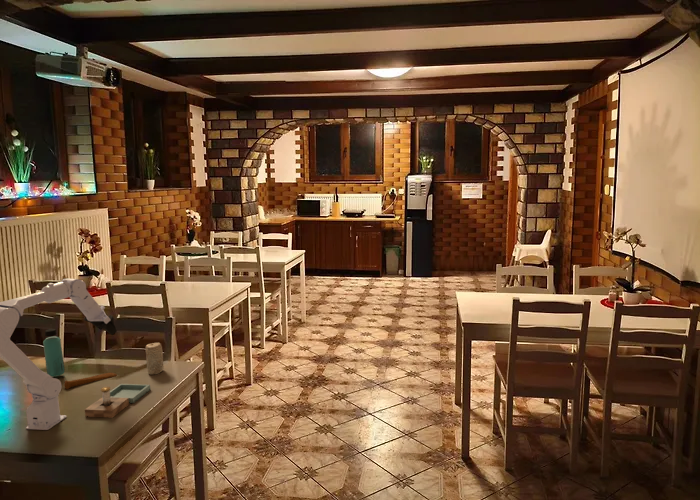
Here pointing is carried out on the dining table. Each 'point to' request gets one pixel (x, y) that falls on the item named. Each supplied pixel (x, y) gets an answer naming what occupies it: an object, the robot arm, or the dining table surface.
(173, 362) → the dining table surface
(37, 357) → the dining table surface
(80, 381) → the primitive tool
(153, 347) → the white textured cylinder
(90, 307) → the robot arm
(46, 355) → the beverage bottle
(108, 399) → the pin
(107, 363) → the dining table surface
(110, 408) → the socket block
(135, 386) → the tray
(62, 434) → the dining table surface
